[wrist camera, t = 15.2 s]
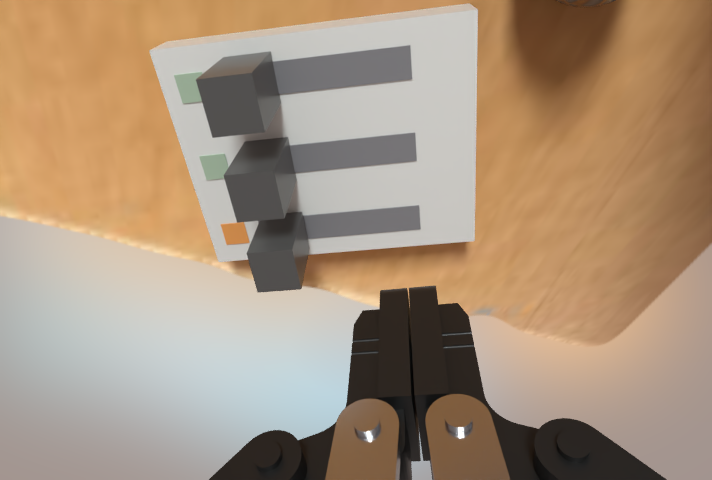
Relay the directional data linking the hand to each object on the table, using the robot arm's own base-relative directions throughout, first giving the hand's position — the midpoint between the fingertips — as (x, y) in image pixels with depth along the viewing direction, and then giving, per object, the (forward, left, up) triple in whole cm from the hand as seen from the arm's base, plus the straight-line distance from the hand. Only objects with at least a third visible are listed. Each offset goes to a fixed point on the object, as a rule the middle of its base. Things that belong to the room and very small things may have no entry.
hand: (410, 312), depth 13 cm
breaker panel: (+4, +4, -24) cm, 24 cm away
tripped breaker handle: (+8, +9, -20) cm, 24 cm away
